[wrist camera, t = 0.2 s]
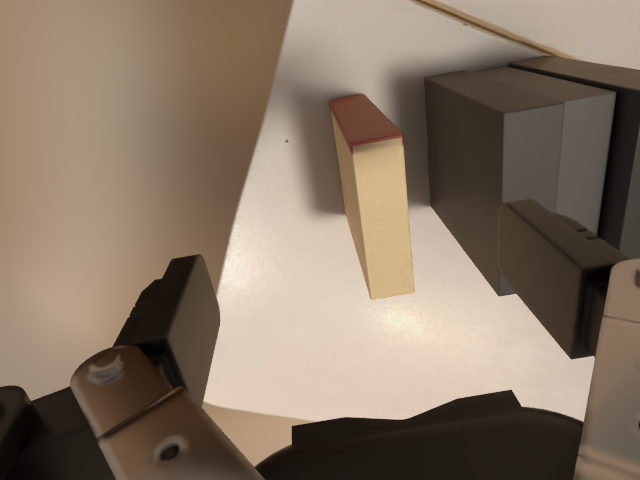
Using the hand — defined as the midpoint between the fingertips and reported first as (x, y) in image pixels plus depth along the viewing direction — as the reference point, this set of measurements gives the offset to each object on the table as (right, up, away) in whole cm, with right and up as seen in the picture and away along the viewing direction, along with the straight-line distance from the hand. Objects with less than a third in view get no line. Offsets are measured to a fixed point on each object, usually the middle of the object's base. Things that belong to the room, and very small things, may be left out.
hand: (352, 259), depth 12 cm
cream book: (+2, +7, +22) cm, 23 cm away
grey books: (+12, +8, +22) cm, 26 cm away
